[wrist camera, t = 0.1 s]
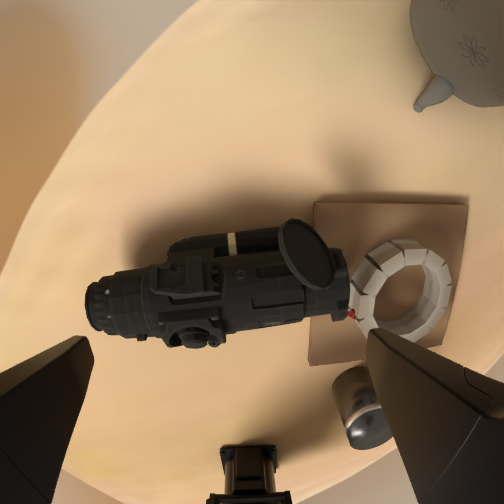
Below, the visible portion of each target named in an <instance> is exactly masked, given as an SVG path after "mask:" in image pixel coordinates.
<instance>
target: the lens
mask: <svg viewBox="0 0 504 504" xmlns="http://www.w3.org/2000/svg"><path fill="white" fill-rule="evenodd" d="M332 393H333V396H334V399H335V401H336V404H337V407H338V410H339V413H340V416H341V419H342V422H343V425H344V428H345V432H346V435H347V437H348V440H349V443H350V445H351V447H353V448H354V449H358V450H367V449H371V448H375V447H377V446H380V445H382V444H383V443H385V442H387V441H388V440H389V439H391V438H392V437H393V434H392V432H391V429H390V427H389V424H388V422H387V419H386V417H385V415H384V412H383V410H382V407H381V405H380V403H379V400H378V398H377V395H376V392H375V389H374V385H373V382H372V378H371V375H370V371H369V368H367V367H354V368H351V369H348V370H346V371H345V372H343V373H342V374H340V375H339V376H338V377H337V378H336V379H335V381H334V383H333V385H332Z"/></svg>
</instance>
